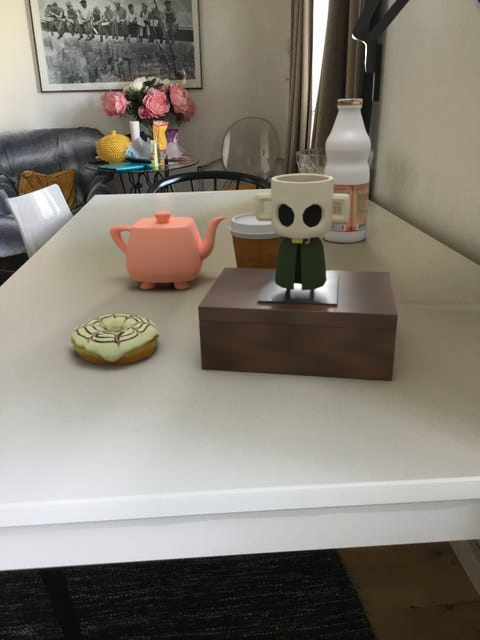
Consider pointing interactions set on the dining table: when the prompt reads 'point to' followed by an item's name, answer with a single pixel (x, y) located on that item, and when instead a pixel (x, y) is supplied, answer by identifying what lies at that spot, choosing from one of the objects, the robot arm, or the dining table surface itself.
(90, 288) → the dining table surface
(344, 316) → the wooden jewelry box
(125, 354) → the decorated donut
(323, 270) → the character mug
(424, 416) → the dining table surface
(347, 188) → the fruit juice
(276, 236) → the disposable coffee cup
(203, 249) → the teapot
